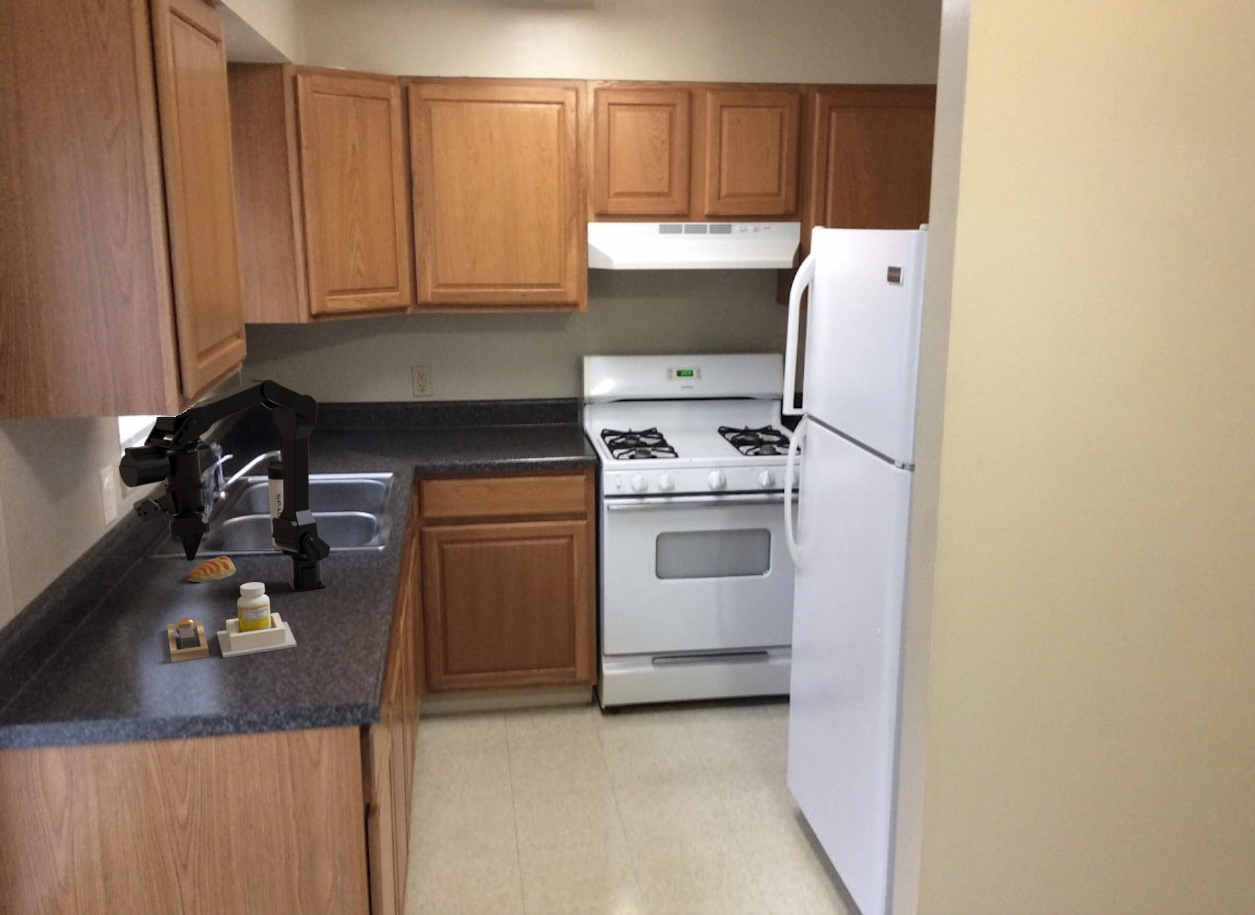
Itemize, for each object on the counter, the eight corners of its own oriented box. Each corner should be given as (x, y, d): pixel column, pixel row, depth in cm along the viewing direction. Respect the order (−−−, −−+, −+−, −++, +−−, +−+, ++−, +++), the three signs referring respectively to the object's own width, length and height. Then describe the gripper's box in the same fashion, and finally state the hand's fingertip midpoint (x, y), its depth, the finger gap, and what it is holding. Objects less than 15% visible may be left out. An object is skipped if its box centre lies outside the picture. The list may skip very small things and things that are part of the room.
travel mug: (290, 541, 242) (285, 458, 238) (306, 546, 237) (301, 462, 233) (266, 547, 237) (260, 462, 233) (282, 552, 233) (276, 466, 229)
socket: (217, 634, 184) (215, 618, 183) (286, 624, 189) (285, 608, 189) (223, 658, 174) (221, 641, 173) (296, 646, 179) (295, 630, 178)
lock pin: (176, 636, 183) (175, 619, 182) (196, 633, 184) (194, 616, 184) (178, 652, 176) (177, 634, 175) (198, 648, 177) (197, 631, 177)
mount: (167, 630, 186) (166, 622, 186) (202, 625, 188) (201, 617, 188) (171, 662, 172) (170, 654, 171) (208, 656, 174) (208, 648, 174)
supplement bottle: (265, 643, 179) (261, 590, 177) (234, 643, 179) (230, 590, 177) (276, 631, 184) (272, 580, 182) (246, 631, 184) (242, 580, 182)
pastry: (203, 586, 210) (202, 569, 209) (180, 582, 213) (178, 564, 212) (238, 574, 218) (237, 556, 218) (215, 569, 221) (214, 552, 221)
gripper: (133, 470, 189) (140, 552, 192) (134, 492, 173) (143, 581, 176) (198, 465, 194) (204, 545, 197) (206, 486, 177) (212, 572, 181)
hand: (190, 560), depth 187 cm, fingers closed
